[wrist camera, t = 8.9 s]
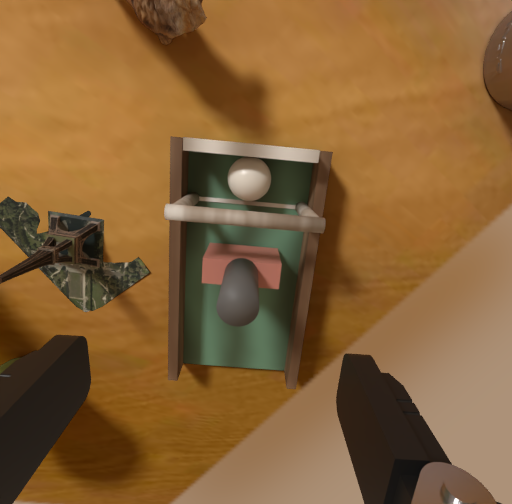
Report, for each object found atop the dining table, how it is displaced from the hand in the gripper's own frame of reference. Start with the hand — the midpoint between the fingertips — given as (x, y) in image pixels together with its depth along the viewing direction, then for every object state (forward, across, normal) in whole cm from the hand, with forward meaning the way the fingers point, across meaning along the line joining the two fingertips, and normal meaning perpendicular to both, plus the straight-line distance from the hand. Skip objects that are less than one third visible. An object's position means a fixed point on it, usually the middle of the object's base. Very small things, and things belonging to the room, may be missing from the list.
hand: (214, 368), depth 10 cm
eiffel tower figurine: (+25, +18, +4) cm, 32 cm away
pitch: (+25, 0, +5) cm, 25 cm away
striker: (+23, 0, +4) cm, 24 cm away
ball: (+22, 0, -4) cm, 22 cm away
